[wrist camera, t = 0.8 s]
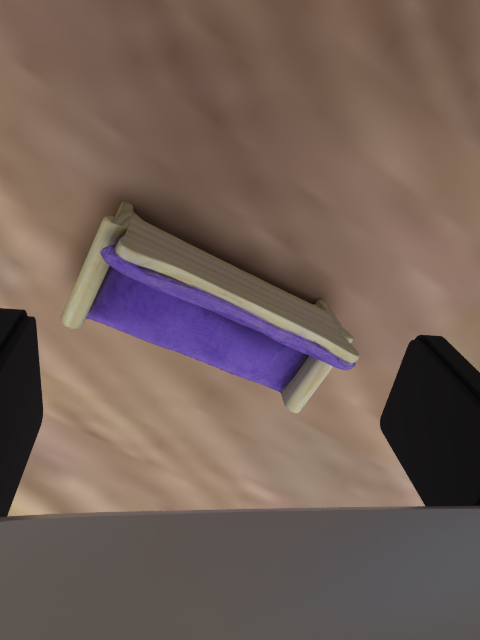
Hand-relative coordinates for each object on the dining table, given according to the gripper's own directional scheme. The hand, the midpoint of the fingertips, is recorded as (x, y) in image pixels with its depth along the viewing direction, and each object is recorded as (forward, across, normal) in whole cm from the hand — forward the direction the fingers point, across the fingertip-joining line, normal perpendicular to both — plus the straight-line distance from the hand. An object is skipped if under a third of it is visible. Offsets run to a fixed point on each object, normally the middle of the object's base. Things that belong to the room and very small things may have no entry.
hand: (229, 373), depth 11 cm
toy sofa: (+26, -3, +10) cm, 28 cm away
